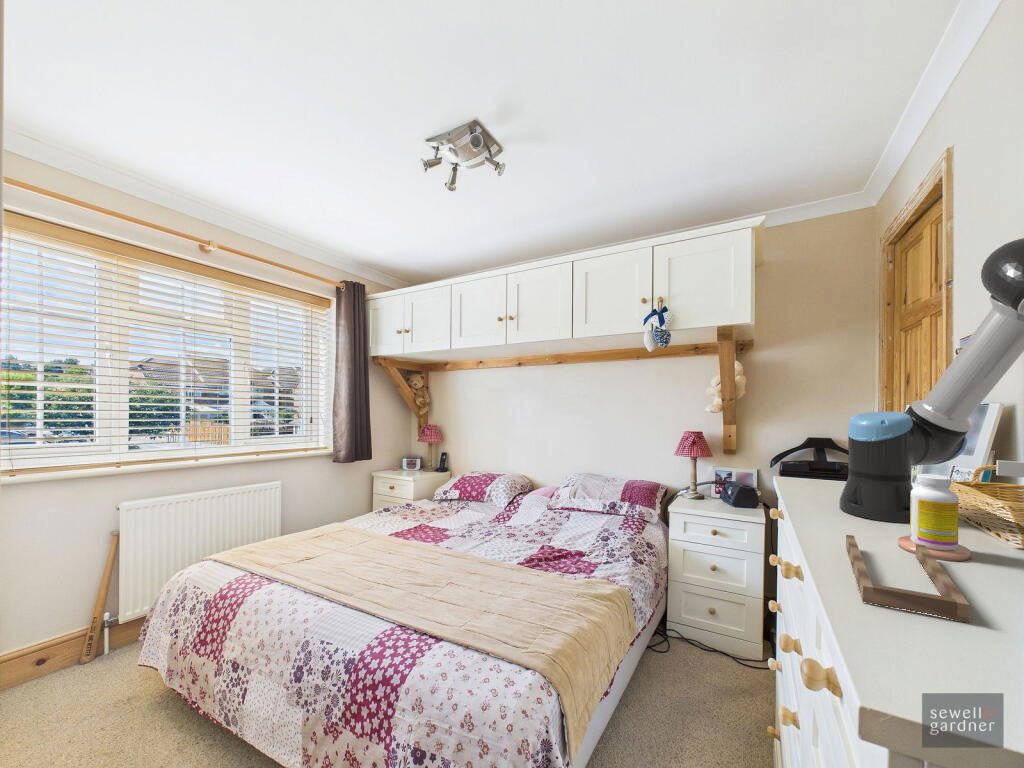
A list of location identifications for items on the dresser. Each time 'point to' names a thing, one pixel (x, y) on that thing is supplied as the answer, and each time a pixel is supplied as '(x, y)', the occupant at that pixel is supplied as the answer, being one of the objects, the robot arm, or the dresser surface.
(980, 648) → the dresser surface
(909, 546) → the pink round coaster
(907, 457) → the robot arm
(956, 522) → the supplement bottle
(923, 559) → the walnut channel
